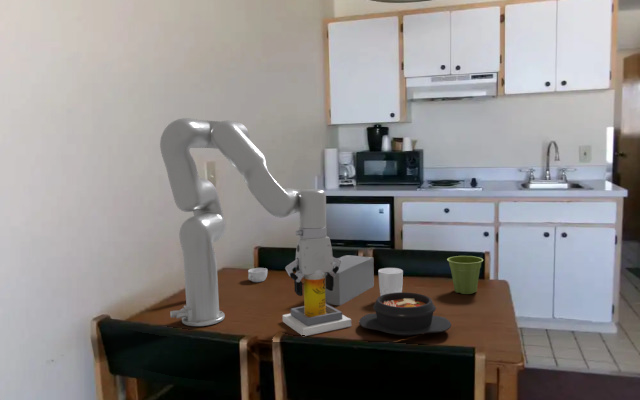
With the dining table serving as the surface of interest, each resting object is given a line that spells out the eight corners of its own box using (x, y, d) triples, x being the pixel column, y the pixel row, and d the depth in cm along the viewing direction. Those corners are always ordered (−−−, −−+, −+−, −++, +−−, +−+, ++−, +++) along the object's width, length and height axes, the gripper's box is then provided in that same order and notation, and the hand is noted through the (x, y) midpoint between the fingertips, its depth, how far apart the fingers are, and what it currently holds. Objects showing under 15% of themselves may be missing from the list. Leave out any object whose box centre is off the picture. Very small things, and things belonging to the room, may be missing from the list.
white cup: (374, 301, 169) (373, 271, 168) (387, 295, 174) (387, 266, 173) (394, 305, 163) (394, 274, 162) (407, 299, 169) (407, 269, 168)
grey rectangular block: (318, 280, 199) (317, 252, 198) (373, 287, 186) (373, 257, 185) (280, 297, 177) (279, 265, 176) (339, 306, 165) (339, 272, 164)
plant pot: (469, 285, 184) (469, 254, 183) (490, 294, 173) (490, 260, 172) (440, 289, 181) (440, 257, 179) (460, 298, 169) (460, 264, 168)
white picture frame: (303, 336, 139) (302, 322, 139) (282, 321, 151) (282, 308, 151) (351, 326, 146) (351, 312, 145) (327, 312, 158) (327, 300, 158)
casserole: (353, 338, 136) (353, 307, 136) (364, 316, 154) (363, 288, 154) (451, 344, 131) (451, 312, 130) (450, 320, 149) (450, 291, 148)
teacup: (257, 277, 206) (257, 266, 205) (276, 280, 200) (276, 268, 199) (239, 283, 198) (239, 271, 197) (258, 286, 192) (258, 274, 191)
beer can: (323, 320, 145) (322, 268, 144) (302, 320, 146) (301, 267, 145) (327, 314, 151) (326, 263, 149) (306, 313, 152) (305, 263, 151)
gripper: (290, 238, 139) (292, 300, 141) (346, 232, 147) (347, 291, 148) (279, 234, 145) (281, 293, 147) (333, 228, 153) (334, 285, 155)
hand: (314, 292), depth 148 cm, fingers open, 9 cm apart
